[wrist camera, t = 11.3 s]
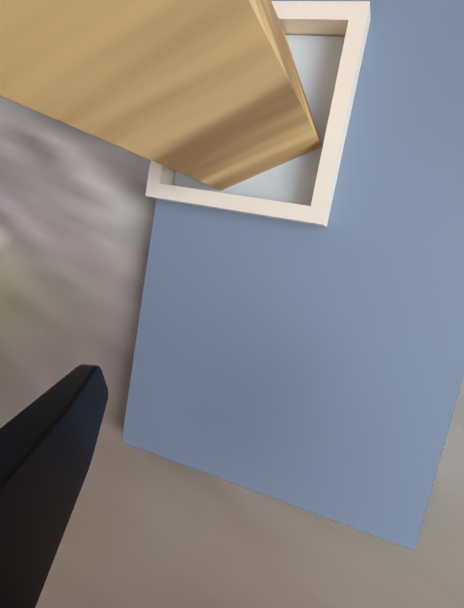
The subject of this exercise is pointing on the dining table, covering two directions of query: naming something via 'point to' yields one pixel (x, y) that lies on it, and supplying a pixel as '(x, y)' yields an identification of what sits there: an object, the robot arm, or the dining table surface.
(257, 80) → the pillar block
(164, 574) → the dining table surface
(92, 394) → the robot arm
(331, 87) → the board
